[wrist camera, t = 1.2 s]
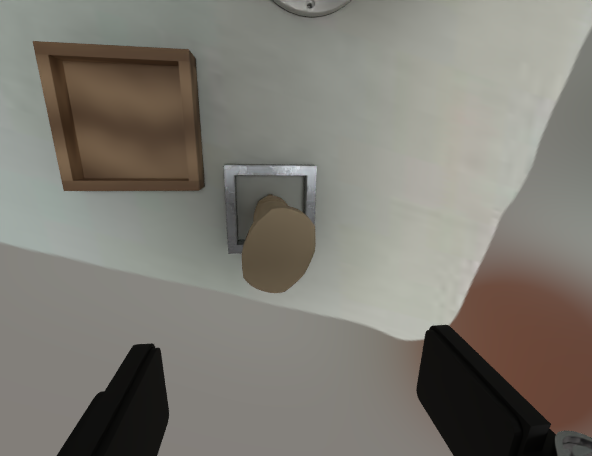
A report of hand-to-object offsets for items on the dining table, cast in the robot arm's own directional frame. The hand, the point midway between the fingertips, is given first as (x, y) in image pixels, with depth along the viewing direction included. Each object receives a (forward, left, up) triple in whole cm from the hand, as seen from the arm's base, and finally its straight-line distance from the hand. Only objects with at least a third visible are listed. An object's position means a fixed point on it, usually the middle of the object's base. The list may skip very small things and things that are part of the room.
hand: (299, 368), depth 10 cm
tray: (-9, -14, -26) cm, 31 cm away
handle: (0, 0, -26) cm, 26 cm away
